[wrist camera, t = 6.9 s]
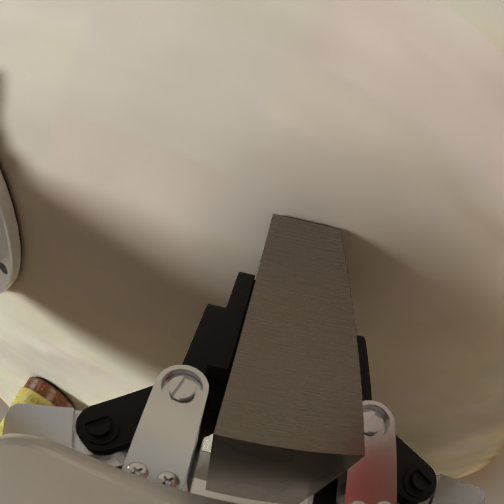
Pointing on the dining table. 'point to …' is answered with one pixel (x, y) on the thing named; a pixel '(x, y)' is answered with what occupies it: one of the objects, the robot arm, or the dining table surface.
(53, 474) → the robot arm
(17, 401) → the sauce bottle
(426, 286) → the dining table surface
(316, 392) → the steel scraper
